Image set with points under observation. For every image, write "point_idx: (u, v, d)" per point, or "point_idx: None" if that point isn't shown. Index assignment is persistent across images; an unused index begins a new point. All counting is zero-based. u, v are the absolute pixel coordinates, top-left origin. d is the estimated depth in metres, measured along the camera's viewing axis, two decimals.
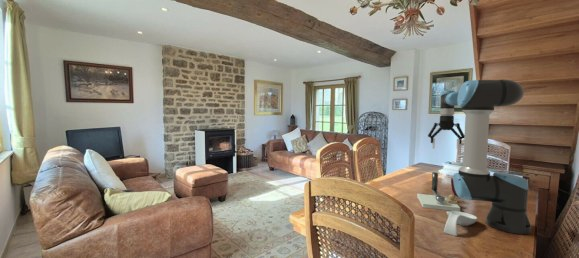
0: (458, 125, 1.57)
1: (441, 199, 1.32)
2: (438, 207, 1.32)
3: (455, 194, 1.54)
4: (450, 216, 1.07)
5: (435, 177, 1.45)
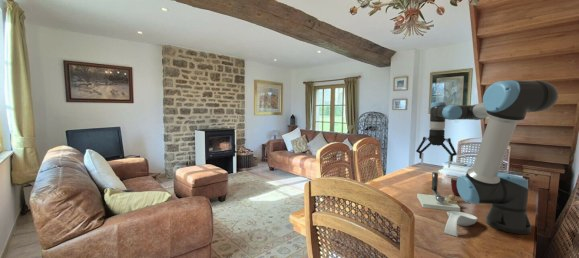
0: (449, 140, 1.40)
1: (441, 199, 1.32)
2: (438, 207, 1.32)
3: (455, 194, 1.54)
4: (450, 216, 1.07)
5: (435, 177, 1.45)
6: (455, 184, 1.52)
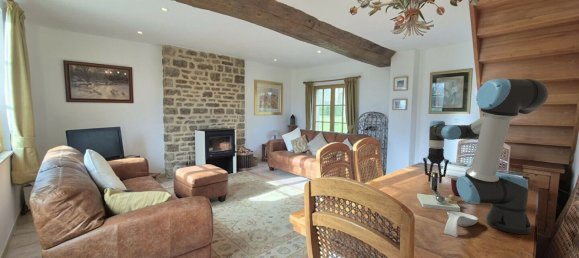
0: (446, 162, 1.41)
1: (441, 199, 1.32)
2: (438, 207, 1.32)
3: (455, 194, 1.54)
4: (451, 217, 1.06)
5: (435, 177, 1.45)
6: (455, 184, 1.52)
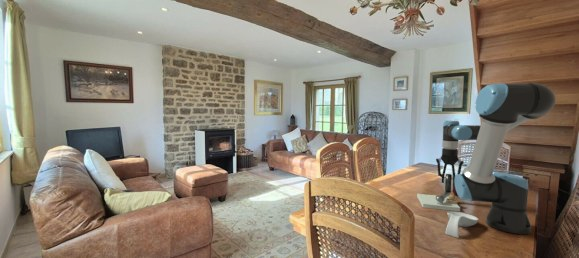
0: (461, 163, 1.38)
1: (439, 199, 1.33)
2: (438, 207, 1.32)
3: (455, 194, 1.54)
4: (451, 217, 1.06)
5: (447, 179, 1.41)
6: None
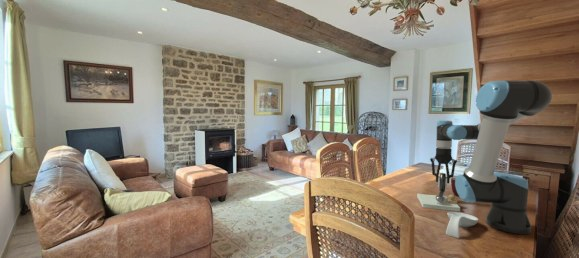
0: (454, 162, 1.40)
1: (440, 199, 1.33)
2: (438, 207, 1.32)
3: (455, 194, 1.54)
4: (452, 218, 1.05)
5: (442, 178, 1.43)
6: None
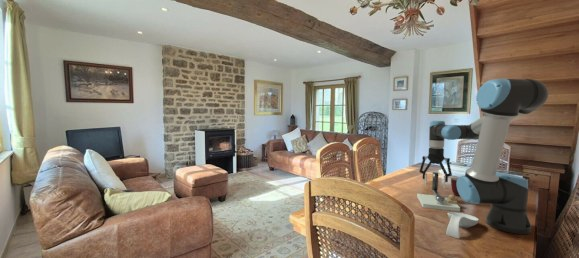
0: (448, 161, 1.41)
1: (441, 199, 1.32)
2: (438, 207, 1.32)
3: (455, 194, 1.54)
4: (452, 218, 1.05)
5: (436, 177, 1.45)
6: (455, 184, 1.52)
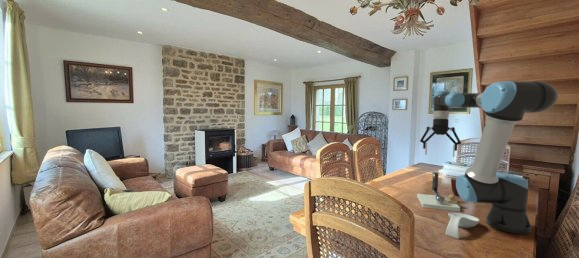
0: (453, 129, 1.40)
1: (441, 199, 1.32)
2: (438, 207, 1.32)
3: (455, 194, 1.54)
4: (452, 218, 1.05)
5: (436, 177, 1.45)
6: (455, 184, 1.52)
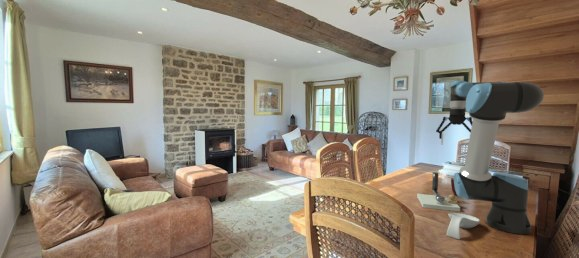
0: (470, 119, 1.41)
1: (441, 199, 1.32)
2: (438, 207, 1.32)
3: (455, 194, 1.54)
4: (453, 219, 1.04)
5: (436, 177, 1.45)
6: None
